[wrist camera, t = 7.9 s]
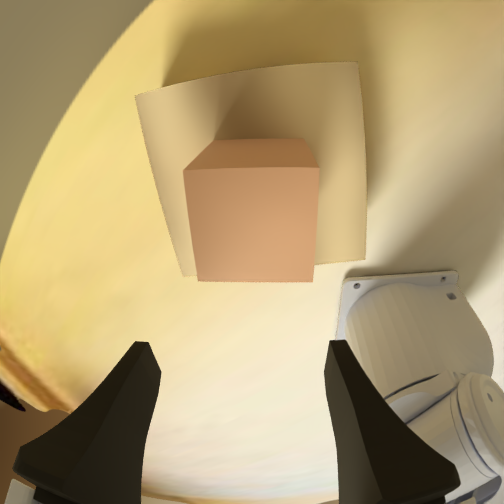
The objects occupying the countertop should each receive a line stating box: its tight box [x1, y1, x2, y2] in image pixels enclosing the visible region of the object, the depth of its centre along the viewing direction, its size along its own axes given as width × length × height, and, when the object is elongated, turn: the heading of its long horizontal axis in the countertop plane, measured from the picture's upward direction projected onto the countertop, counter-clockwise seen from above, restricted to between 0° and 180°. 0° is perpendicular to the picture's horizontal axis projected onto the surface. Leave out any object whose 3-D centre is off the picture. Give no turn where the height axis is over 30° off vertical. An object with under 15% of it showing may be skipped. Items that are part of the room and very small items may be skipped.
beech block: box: [135, 62, 367, 277], centre depth 16 cm, size 10×10×4 cm
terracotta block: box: [183, 138, 320, 282], centre depth 12 cm, size 4×4×5 cm
